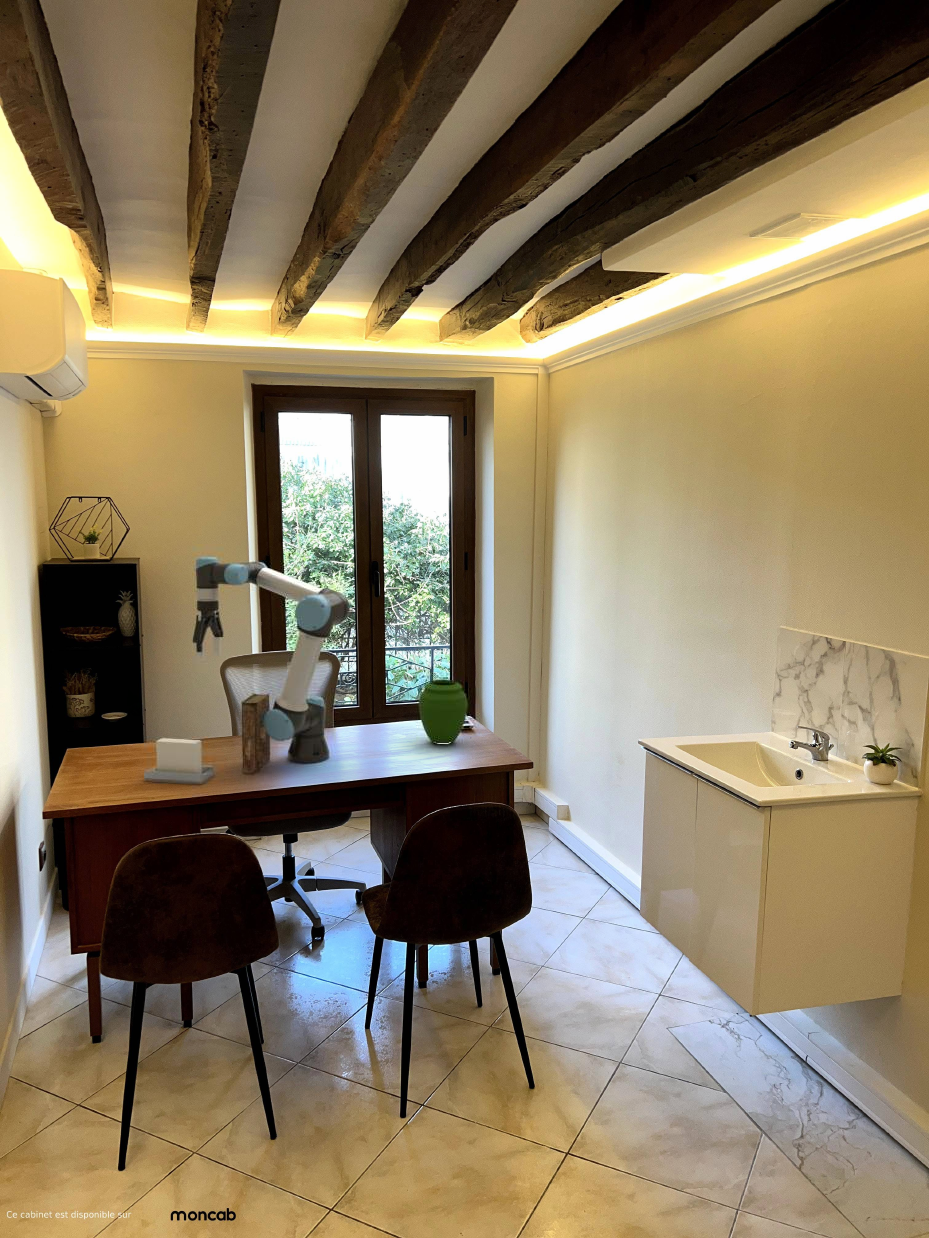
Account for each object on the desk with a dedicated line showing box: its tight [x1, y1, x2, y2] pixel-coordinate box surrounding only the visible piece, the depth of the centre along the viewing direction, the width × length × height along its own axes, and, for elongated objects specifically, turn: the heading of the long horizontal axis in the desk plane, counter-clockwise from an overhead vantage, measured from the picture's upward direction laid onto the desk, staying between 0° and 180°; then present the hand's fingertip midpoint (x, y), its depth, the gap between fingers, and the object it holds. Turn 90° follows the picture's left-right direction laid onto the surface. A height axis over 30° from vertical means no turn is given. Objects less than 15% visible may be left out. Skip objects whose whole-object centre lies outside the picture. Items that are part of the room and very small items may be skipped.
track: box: [143, 764, 215, 786], centre depth 275 cm, size 20×10×4 cm, turn 81°
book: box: [241, 692, 271, 775], centre depth 287 cm, size 16×6×25 cm, turn 178°
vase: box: [418, 679, 469, 743], centre depth 323 cm, size 20×20×24 cm
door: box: [155, 737, 203, 773], centre depth 275 cm, size 14×4×12 cm, turn 81°
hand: (209, 657), depth 298 cm, fingers open, 13 cm apart
